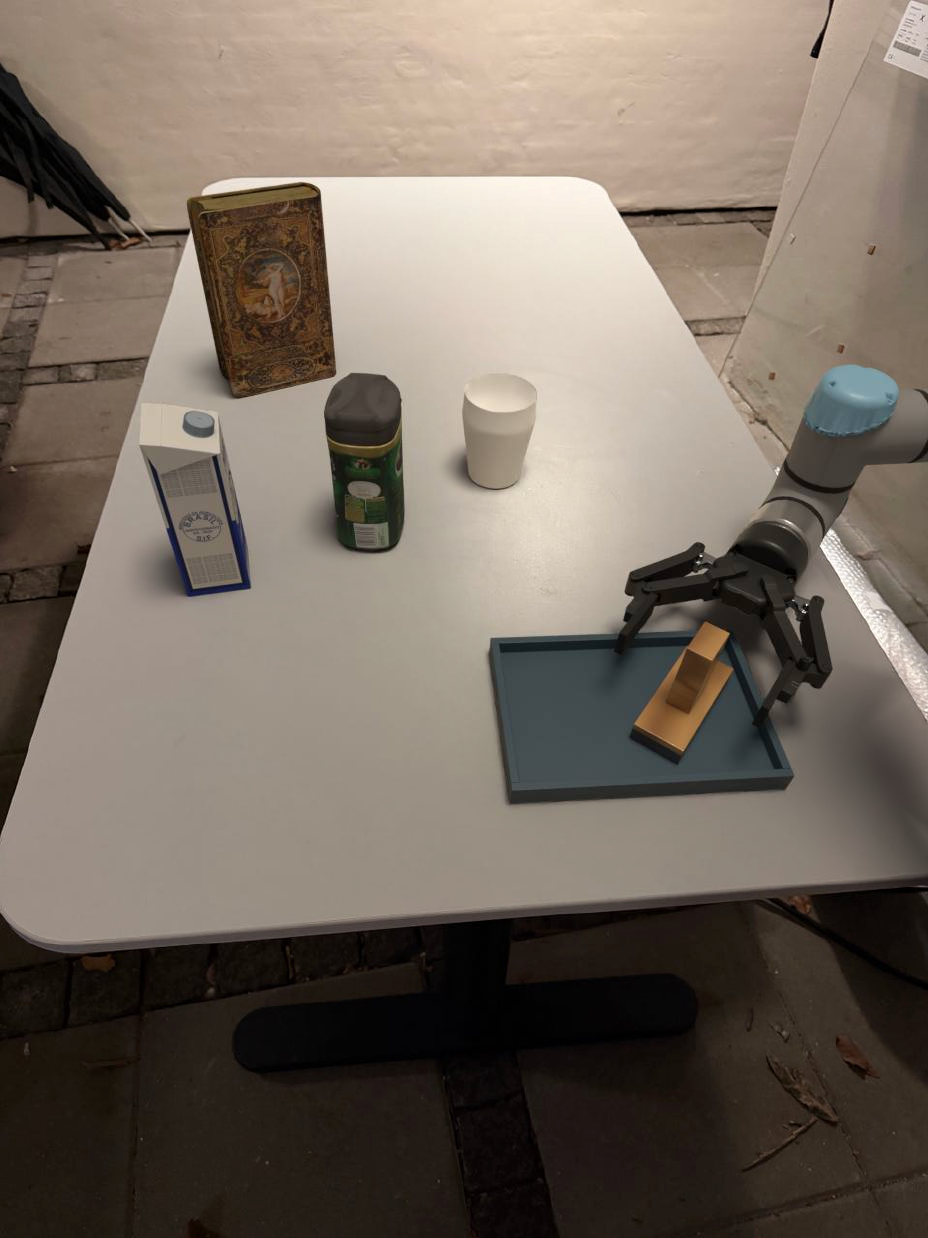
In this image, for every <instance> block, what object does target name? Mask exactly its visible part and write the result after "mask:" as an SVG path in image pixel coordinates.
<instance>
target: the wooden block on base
mask: <svg viewBox="0 0 928 1238" xmlns="http://www.w3.org/2000/svg"><path fill="white" fill-rule="evenodd" d="M724 630H725V629H722V628H720V627H718V626H716V625H713V624H712V623H710V622H708V621H704V622H703V623H702V625H701V627H699V630H697V631H698V632H697V634H696V635H695V637H694V638H693V640H692V641H691V643H690V644H689V646H687V647H686V648H685V650H684V651H683V653H682V654H681V656H680V657H679V659H678V660H677V662H676V663H675V664H674V666H673V667H672V669H671V670H670V672H669V673H668V675H667V676H666V678H665V679H664V681H663V682H662V684H661V685H660V686H659V688H658V689H657V691H656V692H655V694H654V695H653V697H652V698H651V700H650V701H649V703H648V704H647V706H646V707H645V708H644V710H643V711H642V713H641V714H640V716H639V717H638V719H637V720H636V722H635V723H634V726H633V728H632V731H631V734H630V738H631V739H633V740H635V741H636V742H638V743H640V744H642V745H644V746H645V747H647V748H649V749H651V750H652V751H654V752H656V753H658V754H659V755H661V756H663V757H665V758H667V759H668V760H670V761H672V762H674V763H675V764H678V763H679V762H680V760H681V758H682V757H683V755H684V753H685V752H686V750H687V748H688V747H689V745H690V743H691V742H692V740H693V738H694V737H695V735H696V734H697V732H698V730H699V729H700V727H701V725H702V724H703V722H704V720H705V719H706V717H707V715H708V714H709V712H710V710H711V709H712V707H713V705H714V704H715V702H716V700H717V699H718V697H719V696H720V694H721V692H722V691H723V689H724V687H725V686H726V684H727V682H728V680H729V678H730V676H731V674H732V672H733V670H734V669H733V668H732V667H730V666H728V665H726V664H724V663H722V662H720V661H718V659H719V657H720V655H721V652H722V650H723V648H724V646H725V644H726V641H727V639H728V637H729V635H730V633H728V632H726V631H724Z"/></svg>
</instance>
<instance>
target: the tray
mask: <svg viewBox="0 0 928 1238" xmlns="http://www.w3.org/2000/svg"><path fill="white" fill-rule="evenodd" d="M723 630H724V631H726V632H728V633H730V635H729V637H728V639H727V641H726V644H725V646H724V648H723V650H722V652H721V655H720V657H719V659H718V661H720V662H722V663H724V664H726V665H728V666H730V667H732V668H733V669H734V670H733V672H732V674H731V676H730V678H729V680H728V682H727V684H726V686H725V687H724V689H723V691H722V692H721V694H720V696H719V697H718V699H717V700H716V702H715V704H714V705H713V707H712V709H711V710H710V712H709V714H708V715H707V717H706V719H705V720H704V722H703V724H702V725H701V727H700V729H699V730H698V732H697V734H696V735H695V737H694V738H693V740H692V742H691V743H690V745H689V747H688V748H687V750H686V752H685V753H684V755H683V757H682V758H681V760H680V762H679V763H678V764H675V763H674V762H672V761H670V760H668V759H667V758H665V757H663V756H661V755H659V754H658V753H656V752H654V751H652V750H651V749H649V748H647V747H645V746H644V745H642V744H640V743H638V742H636V741H635V740H633V739H631V738H630V734H631V731H632V728H633V726H634V723H635V722H636V720H637V719H638V717H639V716H640V714H641V713H642V711H643V710H644V708H645V707H646V706H647V704H648V703H649V701H650V700H651V698H652V697H653V695H654V694H655V692H656V691H657V689H658V688H659V686H660V685H661V684H662V682H663V681H664V679H665V678H666V676H667V675H668V673H669V672H670V670H671V669H672V667H673V666H674V664H675V663H676V662H677V660H678V659H679V657H680V656H681V654H682V653H683V651H684V650H685V648H686V647H687V646H689V644H690V643H691V641H692V640H693V638H694V637H695V635H696V634H697V632H698V631H699V630H678V631H650V632H649V631H647V632H644V631H643V632H638V634H637V635H636V636H635V638H634V639H633V640H632V642H631V643H630V644H629V646H628V647H627V648H626V649H625V651H624V652H623V653H622V655H620V654H618V653H616V652H614V650H615V646H616V643H617V639H618V636H619V632H617V633H592V634H588V633H587V634H563V635H561V634H560V635H534V636H505V637H503V636H502V637H490V640H489V651H488V653H489V655H488V656H489V660H490V668H491V677H492V683H493V684H492V685H493V689H494V690H493V692H494V698H495V706H496V713H497V719H498V720H497V721H498V727H499V728H498V729H499V734H500V742H501V743H500V744H501V749H502V757H503V764H504V772H505V778H506V786H507V794H508V801H509V804H511V805H512V804H529V803H547V802H564V801H566V802H567V801H568V802H569V801H581V800H582V801H583V800H585V801H587V800H605V799H620V798H621V799H622V798H623V799H624V798H640V797H641V798H642V797H658V796H660V797H661V796H675V795H676V796H677V795H697V794H712V793H713V794H714V793H733V792H750V791H751V792H753V791H769V790H770V791H771V790H786V789H787V788H788V786H789V785H790V784H791V782H792V781H793V779H794V778H795V772H794V771H793V768H792V766H791V763H790V762H789V759H788V757H787V754H786V752H785V750H784V747H783V745H782V742H781V740H780V738H779V735H778V733H777V731H776V728H775V726H774V724H773V721H772V718H771V717H770V714H769V713H768V715H767V717H766V718H765V720H764V722H763V724H762V725H761V727H760V728H758V727H756V726H754V725H752V722H753V721H754V719H755V717H756V715H757V713H758V712H759V710H760V708H761V706H762V704H763V702H764V700H763V697H762V695H761V693H760V690H759V688H758V686H757V683H756V681H755V678H754V676H753V674H752V670H751V669H750V667H749V664H748V662H747V660H746V657H745V655H744V652H743V649H742V648H741V645H740V643H739V640H738V638H737V636H736V633H735V631H734V629H732V628H731V629H729V628H728V629H723Z"/></svg>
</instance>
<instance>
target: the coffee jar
mask: <svg viewBox="0 0 928 1238" xmlns="http://www.w3.org/2000/svg"><path fill="white" fill-rule="evenodd" d="M402 402H403V399H402V397H401V392H400V389H399V387H398V385H396V383H394V382H393V381H392V380H391V379H389V377H388V376H387V375H384V374H377V373H367V372H349V374H348V375H346V376H344V377H343V378H341V379H340V380H338V381H337V382H336V383H335V384H334V385H333V387H332V388H331V389H330V392H329V394H328V396H327V399H326V402H325V406H324V409H323V418H324V428H325V437H326V442H327V448H328V455H329V462H330V472H331V482H332V492H333V502H334V504H333V505H334V514H335V524H336V525H335V526H336V534H337V537H338V539H339V541H340V542H341V543H342V544H344V545H345V546H348V547H350V548H354V549H357V550H363V551H378V550H385V549H388V548H390V547H393V546H394V545H396V543H397V542H399V541H398V540H399V539H400V537H401V535H402V531H403V527H404V523H405V512H406V511H405V510H406V509H405V487H404V485H405V483H404V455H403V453H404V452H403V419H402V418H403V416H402V415H403V414H402V411H403V410H402Z"/></svg>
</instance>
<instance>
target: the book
mask: <svg viewBox="0 0 928 1238" xmlns="http://www.w3.org/2000/svg"><path fill="white" fill-rule="evenodd" d="M186 210H187V215H188V220H189V225H190V230H191V236H192V241H193V245H194V250H195V255H196V260H197V264H198V265H197V266H198V269H199V275H200V279H201V285H202V289H203V294H204V298H205V303H206V309H207V313H208V319H209V324H210V328H211V333H212V338H213V343H214V348H215V352H216V357H217V362H218V368H219V371H220V374H221V376H222V377H223V379H224V380H226V381H229V386H230V389H231V392H232V394H233V395H234V396H235V397H236V398H244V397H249V396H255V395H259V394H264V393H268V392H273V391H277V390H282V389H286V388H289V387H293V386H294V387H295V386H299V385H303V384H308V383H310V382H315V381H320V380H323V379H329V378H332V377H335V376H336V374H337V363H336V353H335V351H336V349H335V339H334V329H333V328H334V327H333V317H332V305H331V293H330V284H329V283H330V282H329V271H328V261H327V260H328V259H327V249H326V238H325V237H326V236H325V225H324V214H323V213H324V212H323V201H322V191H321V189H320V188H319V187H318V186H316V185H315V184H312V183H310V182H306V181H305V182H304V181H298V182H290V183H284V184H276V185H268V186H262V187H261V186H260V187H255V188H247V189H240V190H233V191H232V190H231V191H227V192H226V191H225V192H219V193H218V192H217V193H211V194H204V195H203V194H202V195H197V196H190V197H188V198H187V200H186Z"/></svg>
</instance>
